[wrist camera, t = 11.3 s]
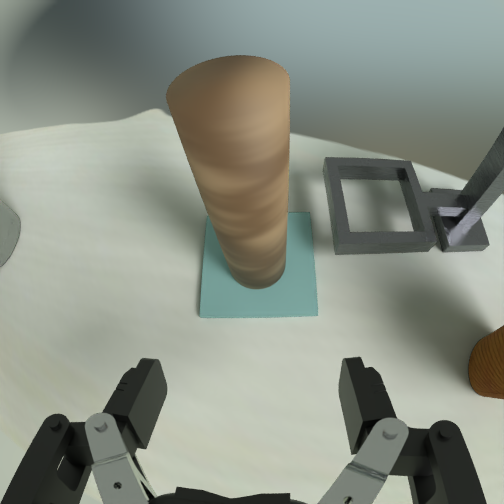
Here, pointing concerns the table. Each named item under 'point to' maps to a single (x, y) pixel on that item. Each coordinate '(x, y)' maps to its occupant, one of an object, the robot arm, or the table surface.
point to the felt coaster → (269, 299)
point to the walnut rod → (239, 157)
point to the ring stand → (417, 206)
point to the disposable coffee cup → (488, 365)
